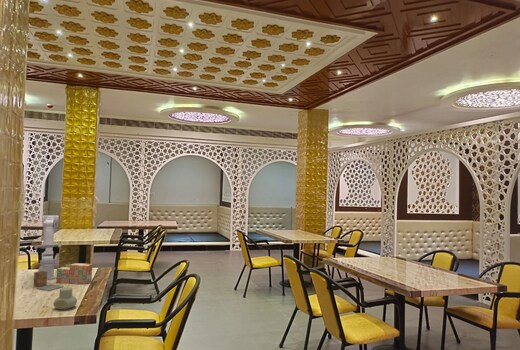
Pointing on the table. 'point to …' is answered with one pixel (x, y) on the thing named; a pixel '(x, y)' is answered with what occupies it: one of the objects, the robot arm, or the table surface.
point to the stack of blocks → (75, 274)
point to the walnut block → (40, 279)
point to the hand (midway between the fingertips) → (47, 259)
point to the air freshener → (65, 299)
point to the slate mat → (49, 287)
